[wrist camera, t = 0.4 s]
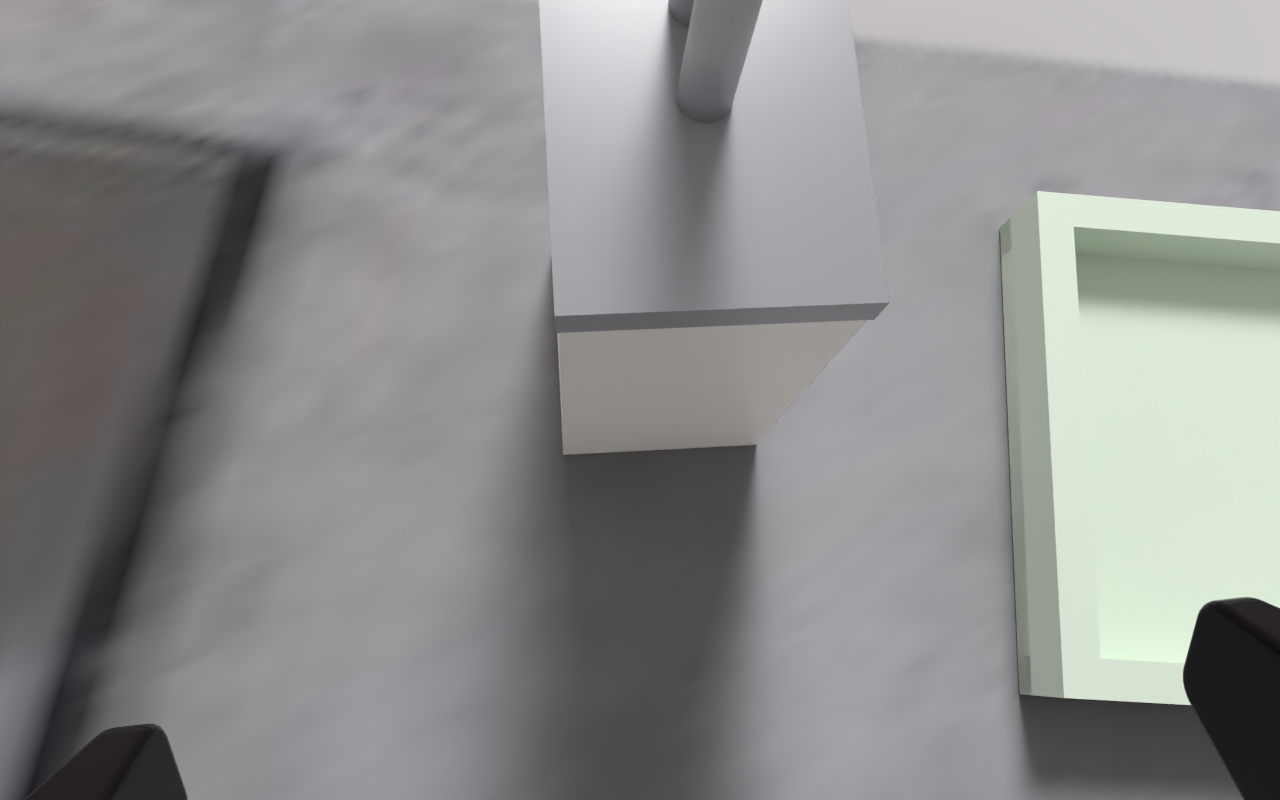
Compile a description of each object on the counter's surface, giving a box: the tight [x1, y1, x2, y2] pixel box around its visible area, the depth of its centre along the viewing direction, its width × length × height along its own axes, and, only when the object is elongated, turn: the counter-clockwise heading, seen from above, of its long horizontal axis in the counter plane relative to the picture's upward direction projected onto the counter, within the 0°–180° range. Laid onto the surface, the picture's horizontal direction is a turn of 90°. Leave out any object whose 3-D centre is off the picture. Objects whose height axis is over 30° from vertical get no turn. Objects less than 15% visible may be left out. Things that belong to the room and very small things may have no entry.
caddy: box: [539, 0, 890, 455], centre depth 17 cm, size 5×4×13 cm
